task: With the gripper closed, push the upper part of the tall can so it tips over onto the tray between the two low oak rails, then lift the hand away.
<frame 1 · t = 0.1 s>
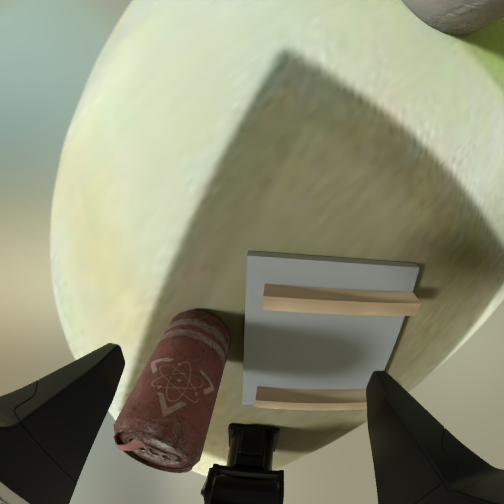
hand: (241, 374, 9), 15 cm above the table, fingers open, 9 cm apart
tray: (321, 344, 26), on the table
can: (199, 332, 27), on the table
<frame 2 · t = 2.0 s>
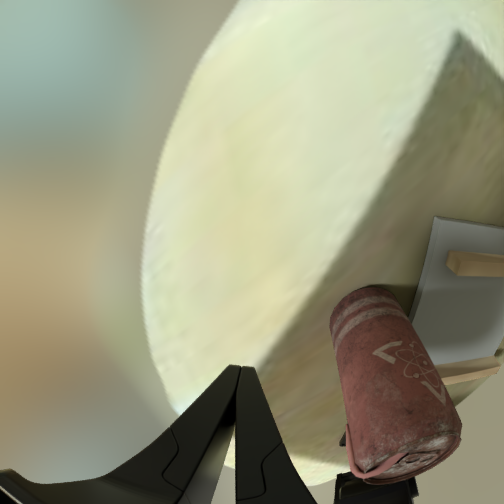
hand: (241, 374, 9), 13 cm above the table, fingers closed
tray: (467, 314, 21), on the table
can: (361, 315, 22), on the table
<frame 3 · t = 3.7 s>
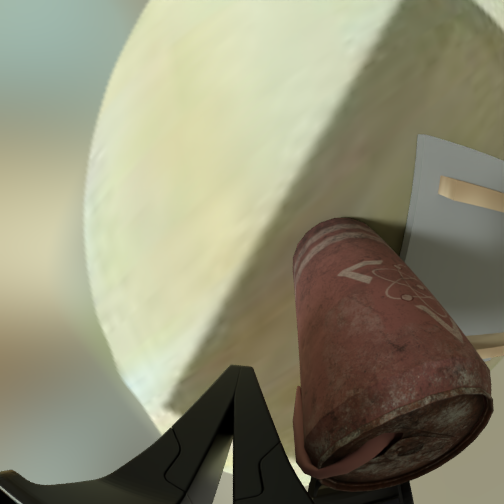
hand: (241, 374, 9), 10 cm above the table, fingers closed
tray: (471, 272, 17), on the table
can: (335, 260, 18), on the table, touching gripper
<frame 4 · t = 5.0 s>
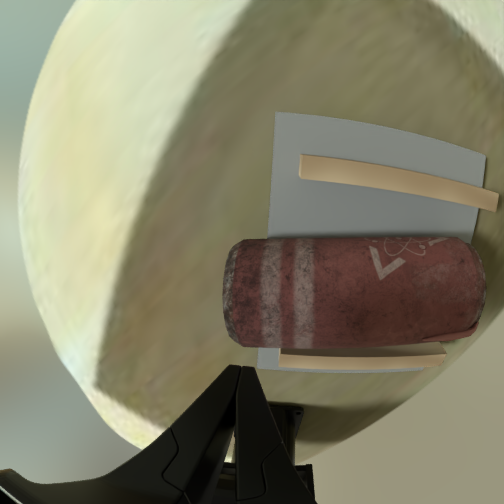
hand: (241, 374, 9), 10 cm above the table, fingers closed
tray: (373, 265, 18), on the table
can: (233, 295, 16), point 3 cm above the table, touching tray
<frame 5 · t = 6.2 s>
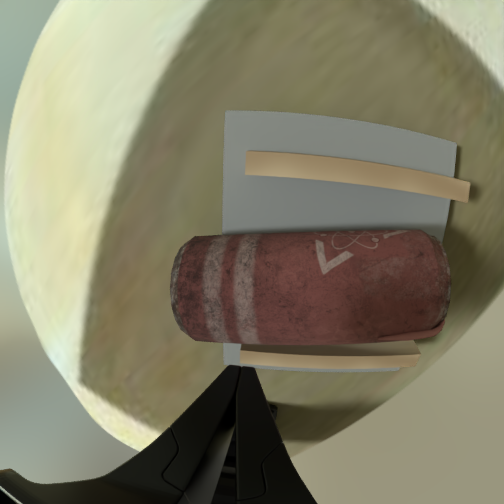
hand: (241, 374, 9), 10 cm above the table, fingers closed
tray: (335, 261, 18), on the table
can: (188, 290, 17), point 3 cm above the table, touching tray
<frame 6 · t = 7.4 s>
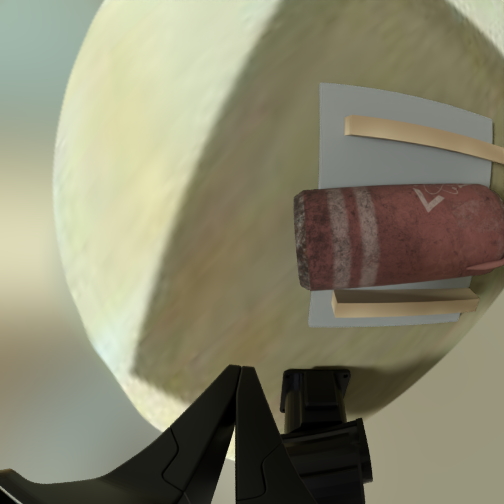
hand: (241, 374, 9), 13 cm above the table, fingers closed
tray: (409, 217, 19), on the table
can: (295, 243, 17), point 3 cm above the table, touching tray
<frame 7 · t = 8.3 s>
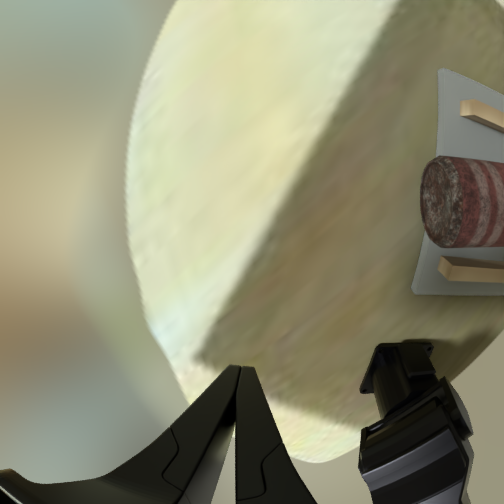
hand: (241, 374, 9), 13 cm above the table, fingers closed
tray: (494, 196, 17), on the table
can: (432, 203, 15), point 3 cm above the table, touching tray
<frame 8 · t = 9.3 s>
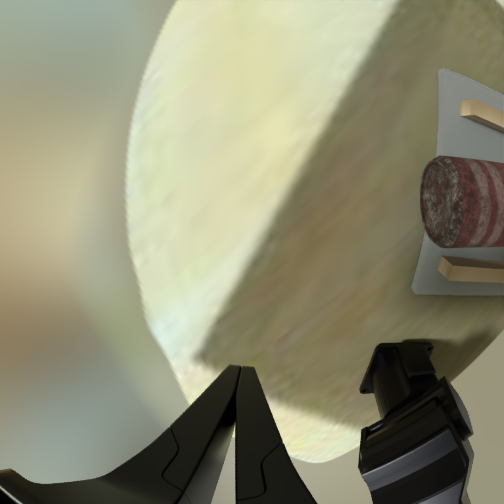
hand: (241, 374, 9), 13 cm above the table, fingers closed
tray: (494, 196, 17), on the table
can: (432, 203, 15), point 3 cm above the table, touching tray
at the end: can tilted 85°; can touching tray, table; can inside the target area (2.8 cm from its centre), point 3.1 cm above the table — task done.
